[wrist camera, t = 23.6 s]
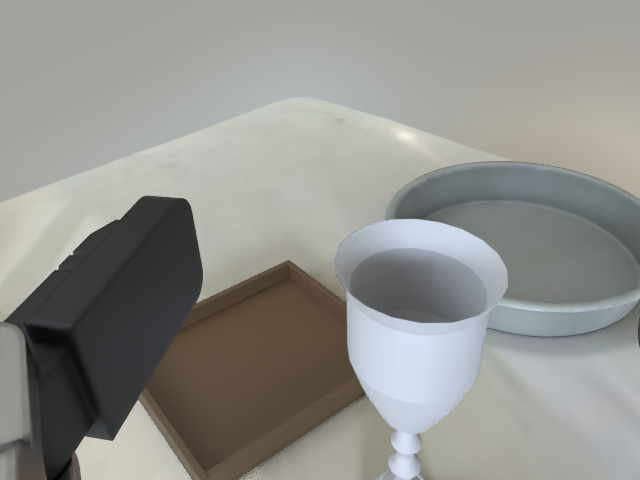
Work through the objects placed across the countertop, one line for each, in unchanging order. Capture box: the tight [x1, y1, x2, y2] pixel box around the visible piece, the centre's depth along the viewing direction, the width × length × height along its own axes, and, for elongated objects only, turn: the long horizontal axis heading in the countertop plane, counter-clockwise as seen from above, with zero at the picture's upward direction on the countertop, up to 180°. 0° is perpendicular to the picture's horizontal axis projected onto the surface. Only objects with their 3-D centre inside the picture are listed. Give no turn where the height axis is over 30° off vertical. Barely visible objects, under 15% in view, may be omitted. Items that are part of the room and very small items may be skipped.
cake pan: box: [385, 161, 640, 337], centre depth 52 cm, size 25×25×4 cm
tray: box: [138, 260, 365, 480], centre depth 43 cm, size 17×15×2 cm
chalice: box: [334, 219, 508, 480], centre depth 28 cm, size 7×7×18 cm
